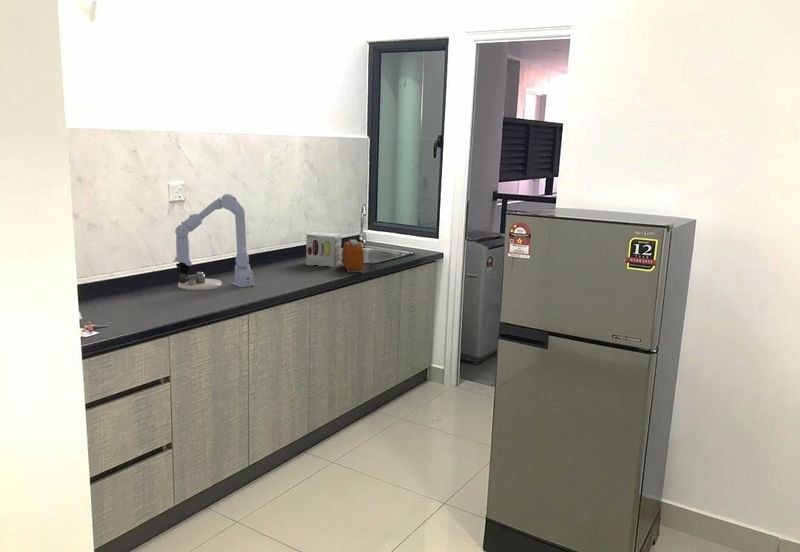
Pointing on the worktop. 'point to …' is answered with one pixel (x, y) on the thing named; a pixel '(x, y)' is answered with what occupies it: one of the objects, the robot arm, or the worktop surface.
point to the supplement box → (323, 249)
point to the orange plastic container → (353, 256)
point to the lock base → (201, 285)
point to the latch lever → (193, 277)
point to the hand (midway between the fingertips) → (183, 278)
